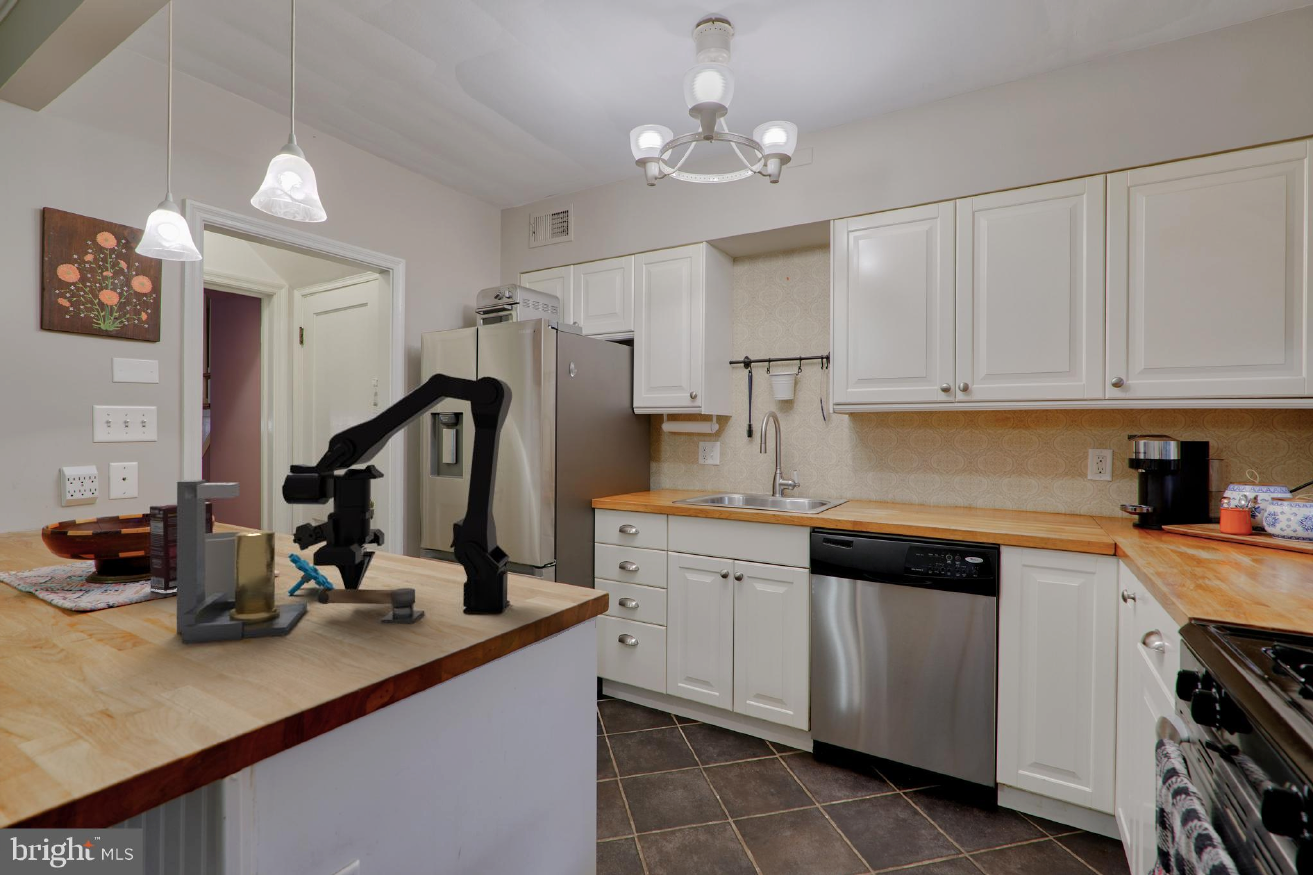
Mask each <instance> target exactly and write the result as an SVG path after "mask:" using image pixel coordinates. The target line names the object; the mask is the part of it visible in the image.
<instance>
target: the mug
mask: <svg viewBox="0 0 1313 875" xmlns="http://www.w3.org/2000/svg"><path fill="white" fill-rule="evenodd" d="M238 533H243V532H242V531H241V532H240V531H224V532H222V531H221V532H219V531H218V532H213V533H209V534H205V599H206V598H208V597H209V596H211V595H212V594H214V593H215V592H217V591H228V600H229V599H235V535H236V534H238Z"/></svg>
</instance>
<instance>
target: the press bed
mask: <svg viewBox="0 0 1313 875" xmlns="http://www.w3.org/2000/svg"><path fill="white" fill-rule="evenodd" d="M239 496H240V482H207V481H206V479H185V480H180V481H177V482H176V504H177V592H176V634H180V633H181V635H182V636H181V638H182V641H181V642H182V643H183V644H198V643H212V642H225V641H238V640H243V639H252V638H265V637H278V636H279V637H280V636H286V635H287V634H288V633H289V632H290V631H291V630H292V629H293V627H294V626H295V625H296V624H297V622H299V620H300V619H301V618H302V617H303V616H304V614H305V613H307V610H308V602H301V603H300V602H298V603H297V602H296V603H284V604H282V603H281V604H280V603H279V604H278V605H279V606H280V615H279V616H278V617H276V618H274V619H271V620H267V621H263V622H257V623H249V624H245V621H229V612H230V611H231V610H233V609H235V599H229V600H228V591H217V592H215V593H214V594H212V595H211V596H209V597H208V598H206V599H205V508H206V502H207V501H206V499H233V498H235V497H239Z"/></svg>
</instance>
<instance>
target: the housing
mask: <svg viewBox="0 0 1313 875" xmlns="http://www.w3.org/2000/svg"><path fill="white" fill-rule="evenodd" d="M275 542H276V532H275V531H273V530H272V531H271V530H253V531H244V532H243V533H238V534H236V535H235V609H233V610H231V611H230V612H229V621H245V624H249V623H257V622H263V621H267V620H271V619H274V618H276V617H278V616H279V615H280V606H279V605H280V604H276V597H275V596H276V594H275V592H276V590H275V589H276V586H275V585H276V582H275V580H276V572H275V571H276V543H275Z"/></svg>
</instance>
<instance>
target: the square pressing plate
mask: <svg viewBox="0 0 1313 875" xmlns="http://www.w3.org/2000/svg"><path fill="white" fill-rule="evenodd" d="M391 606H392V605H391ZM414 607H415V603H414V604H412V605H409V606H401V607H398V606H392V608H391V609H392V610H391V612H390V613H388V614H386V615H385V616H383V618H381V619H380V624H398V625H399V624H400V625H401V624H403V625H404V624H406V625H411V624H414V623H415V622H417V621H418V620H419V619H420V618H422V617H423V616H424V615H425V610H414Z"/></svg>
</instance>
